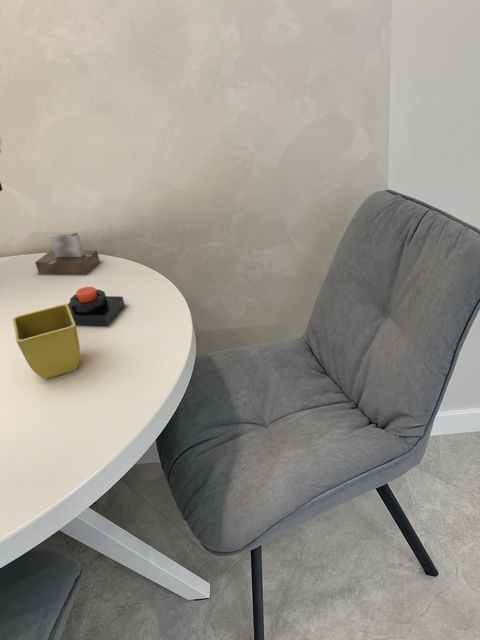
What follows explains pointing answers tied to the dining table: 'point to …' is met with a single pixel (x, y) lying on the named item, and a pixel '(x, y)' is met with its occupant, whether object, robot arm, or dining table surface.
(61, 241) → the tap lever
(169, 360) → the dining table surface
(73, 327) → the flower pot
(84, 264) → the base
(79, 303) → the button block
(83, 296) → the button
